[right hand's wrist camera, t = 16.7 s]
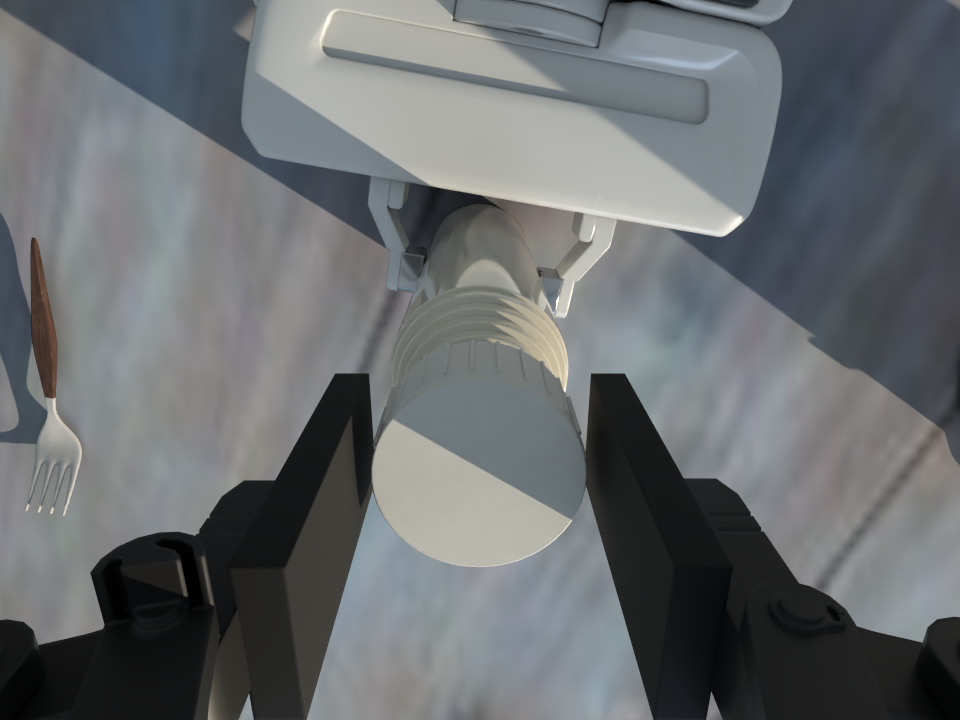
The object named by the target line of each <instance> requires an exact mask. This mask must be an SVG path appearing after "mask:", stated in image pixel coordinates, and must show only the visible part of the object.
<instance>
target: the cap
mask: <svg viewBox="0 0 960 720" xmlns="http://www.w3.org/2000/svg"><path fill="white" fill-rule="evenodd" d="M581 434H582V433H581V430H580V427H579V424H578V421H577V418H576V415H575V411H574V408H573V405H572V402H571V399H570V397H567V396H566V394H565V392H564V390H563V387H562V384H561V381H560V378H559V377H557V378H556V377H555V376H554V375H553V374H552V373H551V371H550V370H549V369H548V368H547V367H546V366H545V363H544V362H543V361H542V360H541V361H538V360H537V359H536V358H534V357H532V356H531V355H529V354H527V353H526V352H524V349H522V348H520V350H519V349H517V348H514V347H511V346H508V345H504V344H500V341H496V343H494V342H486V341H475V340H471V342H463V343H458V344H453V345H450V344H447V345H446V347H444V348H441V349H439V350H437V351H435V352H433V353H430V354H427V353H426V354H425V355H424V356H423V358H422V359H421V360H419V361H418V362H417V363H416V364H415V365H413V366H412V367H411V368H410V369H408V368H407V369H406V370H405V373H404V376H403V377H402V378H401V380H400V381H399V383H398V384H397V386H396V387H394V386H393V388H392V390H391V393H390V396H389V399H388V402H387V406H386V407H385V409H384V412H383V415H382V418H381V421H380V424H379V427H378V430H377V433H376V436H375V439H374V442H373V446H375V449H374V453H373V456H372V464H371V483H372V489H373V494H374V497H375V500H376V503H377V505H378V507H379V509H380V511H381V513H382V515H383V517H384V518H385V520H386V521H387V523H388V524H389V526H390V527H391V528H392V529H393V530H394V531H395V532H396V534H397V535H398V536H399V537H401V538H402V539H403V540H404V541H405V542H406V543H407V544H409V545H410V546H412V547H413V548H415V549H416V550H418V551H420V552H422V553H424V554H426V555H427V556H429V557H432V558H435V559H437V560H440V561H443V562H447V563H451V564H454V565H461V566H470V567H487V566H497V565H503V564H508V563H511V562H515V561H518V560H521V559H523V558H526V557H528V556H530V555H532V554H534V553H536V552H538V551H540V550H541V549H543V548H544V547H546V546H547V545H549V544H550V543H551V542H553V541H554V540H555V539H556V538H557V537H558V536H559V535H560V534H561V533H562V532H563V531H564V530H565V529H566V528H567V526H568V525H569V524H570V523H571V521H572V519H573V518H574V516H575V515H576V513H577V511H578V509H579V506H580V504H581V502H582V499H583V495H584V492H585V487H586V479H587V468H586V460H585V458H586V452H585V449H584V446H583V443H582V439H581V436H580V435H581Z"/></svg>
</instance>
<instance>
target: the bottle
mask: <svg viewBox="0 0 960 720" xmlns="http://www.w3.org/2000/svg"><path fill="white" fill-rule="evenodd" d="M471 340H475V341H486V342H494V343H496V341H500V344H504V345H508V346H511V347H514V348H517V349H519V350H520V348H522V349H524V352H526V353H527V354H529V355H531V356H532V357H534V358H536V359H537V360H538V361H541V360H542V361H543V362H544V363H545V366H546V367H547V368H548V369H549V370H550V371H551V373H552V374H553V375H554V376H555V377H556V378H557V377H559V378H560V381H561V384H562V387H563V390H564V392H565V390H566V384H567V378H568V358H567V352H566V348H565V344H564V341H563V338H562V336H561V333H560V330H559V328H558V325H557V322H556V319H555V317H554V314H553V311H552V309H551V306H550V303H549V301H548V298H547V295H546V292H545V290H544V287H543V284H542V282H541V279H540V276H539V273H538V271H537V268H536V265H535V263H534V260H533V257H532V255H531V252H530V249H529V246H528V244H527V241H526V238H525V236H524V233H523V231H522V229H521V227H520V226H519V224H518V223H517V222H516V220H515V219H514V218H513V217H512V216H511V215H509V214H508V213H507V212H505V211H504V210H502V209H500V208H497V207H495V206H491V205H486V204H473V205H468V206H465V207H462V208H460V209H457V210H456V211H454V212H453V213H451V214H450V215H449V216H448V217H446V219H445V220H444V221H443V222H442V223H441V225H440V226H439V228H438V230H437V232H436V234H435V237H434V239H433V242H432V245H431V247H430V250H429V253H428V255H427V258H426V260H425V263H424V266H423V268H422V271H421V274H420V276H419V279H418V282H417V284H416V287H415V290H414V292H413V295H412V297H411V300H410V303H409V305H408V308H407V311H406V313H405V316H404V319H403V321H402V324H401V326H400V329H399V332H398V334H397V337H396V340H395V343H394V345H393V349H392V354H391V362H390V373H391V382H392V388H393V386H394V387H396V386H397V384H398V383H399V381H400V380H401V378H402V377H403V376H404V373H405V370H406V369H407V368H408V369H410V368H411V367H412V366H413V365H415V364H416V363H417V362H418V361H419V360H421V359H422V358H423V356H424V355H425V354H426V353H427V354H430V353H433V352H435V351H437V350H439V349H441V348H444V347H446V345H447V344H450V345H453V344H458V343H463V342H471Z"/></svg>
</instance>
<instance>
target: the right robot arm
mask: <svg viewBox="0 0 960 720" xmlns="http://www.w3.org/2000/svg"><path fill="white" fill-rule="evenodd" d="M373 453H374V446H373V427H372V412H371V398H370V383H369V374H335V375H334V377H333V379H332V380H331V382H330V384H329V386H328V388H327V389H326V391H325V393H324V395H323V396H322V398H321V400H320V402H319V404H318V405H317V407H316V409H315V411H314V412H313V414H312V416H311V418H310V420H309V421H308V423H307V425H306V427H305V429H304V430H303V432H302V434H301V436H300V437H299V439H298V441H297V443H296V445H295V446H294V448H293V450H292V452H291V453H290V455H289V457H288V459H287V461H286V462H285V464H284V466H283V468H282V469H281V471H280V473H279V475H278V477H277V478H276V480H275V481H243V482H241V483H240V484H239V485H237V486H236V487H234V488H233V489H232V490H230V491H229V492H228V493H226V494H225V495H223V496H222V497H221V499H220V500H219V502H218V503H217V505H216V506H215V508H214V509H213V511H212V512H211V514H210V518H207V520H206V521H205V522H204V524H203V525H202V527H201V528H200V530H199V531H200V532H199V534H196V536H193V535H189V534H186V533H182V532H160V533H155V534H151V535H147V536H143V537H139V538H136V539H134V540H132V541H130V542H127V543H125V544H123V545H121V546H118V547H117V548H115V549H114V550H113V551H111V552H110V553H108V554H107V555H106V556H104V557H103V558H102V559H100V561H99V562H98V563H97V565H96V566H95V567H94V569H93V570H92V571H91V572H90V573H91V577H92V580H93V584H94V588H95V591H96V595H97V598H98V602H99V606H100V609H101V613H102V617H103V620H104V624H105V625H104V628H103V629H102V630H99V631H95V632H92V633H89V634H85V635H81V636H76V637H72V638H68V639H63V640H59V641H55V642H50V643H46V644H42V645H38V643H37V640H36V637H35V634H34V631H33V630H32V629H31V628H30V627H29V626H28V625H26V624H25V623H24V622H20V621H14V620H7V619H6V620H0V720H238V719H239V717H240V714H241V712H242V709H243V707H244V704H245V702H246V699H247V697H248V694H249V695H250V700H251V706H252V712H253V717H254V720H307V716H308V713H309V709H310V706H311V702H312V699H313V695H314V692H315V688H316V685H317V681H318V678H319V674H320V671H321V667H322V664H323V660H324V657H325V654H326V650H327V647H328V643H329V640H330V636H331V633H332V629H333V626H334V622H335V619H336V615H337V612H338V608H339V605H340V601H341V598H342V594H343V591H344V587H345V584H346V580H347V577H348V574H349V570H350V567H351V563H352V560H353V556H354V553H355V549H356V546H357V542H358V539H359V535H360V532H361V528H362V525H363V521H364V518H365V514H366V511H367V507H368V504H369V500H370V497H371V494H372V490H373V489H372V483H371V464H372V456H373ZM585 460H586V468H587V479H586V487H587V490H588V494H589V497H590V500H591V504H592V507H593V511H594V514H595V518H596V521H597V525H598V528H599V532H600V535H601V539H602V542H603V546H604V549H605V553H606V556H607V560H608V563H609V567H610V570H611V573H612V577H613V580H614V584H615V587H616V591H617V594H618V598H619V601H620V605H621V608H622V612H623V615H624V619H625V622H626V626H627V629H628V633H629V636H630V640H631V643H632V647H633V650H634V653H635V657H636V660H637V664H638V667H639V671H640V674H641V678H642V681H643V685H644V688H645V692H646V695H647V699H648V702H649V706H650V709H651V713H652V716H653V720H706V717H707V712H708V706H709V700H710V695H711V691H712V694H713V696H714V699H715V701H716V704H717V706H718V709H719V711H720V714H721V716H722V719H723V720H960V617H950V618H943V619H937V620H936V621H935V622H934V623H932V624H931V625H930V626H929V627H928V628H927V631H926V634H925V637H924V640H923V643H921V642H917V641H913V640H908V639H904V638H900V637H895V636H891V635H887V634H882V633H878V632H874V631H870V630H867V629H864V628H860V627H857V626H856V624H855V623H854V621H853V620H852V618H851V617H850V615H849V614H848V612H847V611H846V609H845V608H843V607H842V606H841V605H840V604H839V603H837V602H836V601H835V600H834V599H832V598H831V597H830V596H828V595H826V594H824V593H822V592H820V591H818V590H816V589H814V588H812V587H810V586H807V585H803V584H799V583H798V581H797V580H796V578H795V577H794V575H793V574H792V573H791V571H790V570H789V568H788V567H787V565H786V564H785V562H784V561H783V559H782V558H781V556H780V555H779V553H778V552H777V551H776V549H775V548H774V546H773V545H772V543H771V542H770V540H769V539H768V537H767V536H766V534H765V533H764V532H761V527H760V526H759V524H758V523H757V521H756V520H755V518H754V517H753V516H751V512H750V511H749V510H748V508H747V507H746V505H745V504H744V502H743V501H742V499H741V498H740V496H739V495H738V494H737V493H736V492H734V491H733V490H731V489H730V488H729V487H727V486H726V485H724V484H723V483H722V482H720V481H719V480H717V479H684V478H683V477H682V475H681V473H680V471H679V469H678V468H677V466H676V464H675V462H674V461H673V459H672V457H671V455H670V453H669V452H668V450H667V448H666V446H665V445H664V443H663V441H662V439H661V437H660V436H659V434H658V432H657V430H656V428H655V427H654V425H653V423H652V421H651V420H650V418H649V416H648V414H647V412H646V411H645V409H644V407H643V405H642V404H641V402H640V400H639V398H638V396H637V395H636V393H635V391H634V389H633V388H632V386H631V384H630V382H629V380H628V379H627V377H626V375H625V374H591V383H590V398H589V412H588V427H587V442H586V458H585Z"/></svg>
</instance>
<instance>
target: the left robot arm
mask: <svg viewBox="0 0 960 720" xmlns="http://www.w3.org/2000/svg"><path fill="white" fill-rule="evenodd" d="M252 1H253V4H254V6H255V8H256V14H255V18H254V23H253V28H252V33H251V38H250V44H249V50H248V56H247V63H246V71H245V79H244V87H243V98H242V111H241V124H242V128H243V130H244V132H245V134H246V135H247V137H248V138H249V140H250V141H251V143H252V145H253V146H254V148H255V149H256V150H257V152H258V153H259V154H260V155H261V156H263V157H267V158H272V159H278V160H284V161H289V162H295V163H301V164H306V165H312V166H318V167H323V168H329V169H335V170H340V171H346V172H352V173H358V174H363V175H369V176H371V178H370V187H369V197H368V206H369V209H370V211H371V213H372V216H373V218H374V220H375V223H376V225H377V227H378V229H379V232H380V234H381V236H382V239H383V241H384V243H385V245H386V248H387V249H389V250H390V255H389V263H388V272H387V280H386V289H390V290H395V291H403V292H410V293H413V292H414V290H415V287H416V284H417V282H418V279H419V276H420V274H421V271H422V268H423V266H424V263H425V260H426V257H427V249H428V248H425V247H420V246H414V245H409V244H410V243H409V240H408V238H407V235H406V233H405V230H404V227H403V225H402V222H401V220H400V217H399V215H398V212H397V209H400V208H401V207H402V206H403V205H404V204H405V203H406V202H407V201H408V193H409V186H410V183H414V184H420V185H426V186H431V187H437V188H443V189H449V190H454V191H460V192H466V193H471V194H477V195H483V196H488V197H494V198H500V199H505V200H511V201H517V202H523V203H528V204H534V205H540V206H545V207H551V208H557V209H562V210H568V211H574V212H575V215H574V220H573V225H572V231H573V232H574V234H575V235H576V236H577V237H578V238H579V241H578V242H577V243H576V245H575V246H574V247H573V248H572V249H571V250H570V252H569V253H568V254H567V255H566V256H565V258H564V259H563V260H562V261H561V262H560V263H559V265H558V266H557V267H556V268H555V269H550V268H543V267H537V271H538V273H539V276H540V279H541V282H542V284H543V287H544V290H545V292H546V295H547V298H548V301H549V303H550V306H551V309H552V311H553V314H554V317H559V318H565V317H566V315H567V312H568V308H569V303H570V299H571V295H572V291H573V286H574V282H575V281H578V280H579V279H580V278H581V277H582V276H583V275H584V274H585V273H586V272H587V271H588V270H589V269H590V268H591V267H592V266H593V264H594V263H595V262H596V261H597V260H598V259H599V258H600V257H601V256H602V255H603V254H604V253H605V252H606V251H607V250H608V248H609V247H610V245H611V241H612V237H613V233H614V229H615V225H616V221H617V219H619V220H625V221H631V222H636V223H642V224H648V225H653V226H659V227H665V228H670V229H676V230H682V231H688V232H693V233H699V234H705V235H711V236H716V237H723V236H726V235H727V234H728V233H730V232H731V231H733V230H734V229H735V228H736V227H737V226H739V225H740V224H741V223H742V222H743V221H744V220H746V219H747V218H748V216H749V215H750V214H751V212H752V210H753V207H754V205H755V202H756V199H757V197H758V194H759V190H760V187H761V184H762V180H763V177H764V173H765V170H766V166H767V162H768V158H769V154H770V150H771V146H772V141H773V137H774V132H775V127H776V122H777V117H778V111H779V106H780V100H781V93H782V65H781V60H780V56H779V53H778V51H777V49H776V47H775V45H774V44H773V42H772V41H771V39H770V38H769V37H768V36H767V35H766V34H765V33H763V32H762V31H760V30H759V29H760V28H762V27H765V26H767V25H769V24H771V23H773V22H774V21H776V20H778V19H780V18H781V17H782V16H783V15H784V14H785V13H786V12H787V10H788V9H789V7H790V5H791V3H792V1H793V0H252Z"/></svg>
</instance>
